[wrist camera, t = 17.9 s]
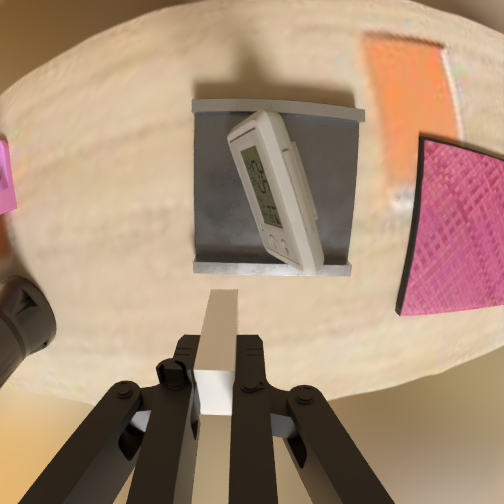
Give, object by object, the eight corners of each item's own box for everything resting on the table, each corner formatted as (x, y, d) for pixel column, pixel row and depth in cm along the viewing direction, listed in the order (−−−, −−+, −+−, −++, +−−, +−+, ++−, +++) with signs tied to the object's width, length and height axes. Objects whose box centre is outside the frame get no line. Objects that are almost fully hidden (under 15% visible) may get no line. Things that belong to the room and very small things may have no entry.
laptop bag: (401, 323, 38) (429, 135, 30) (391, 310, 42) (414, 136, 33) (533, 303, 38) (558, 182, 29) (523, 296, 42) (545, 179, 33)
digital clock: (226, 125, 32) (214, 113, 22) (301, 117, 31) (322, 103, 21) (244, 254, 37) (240, 292, 27) (313, 245, 37) (335, 281, 27)
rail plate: (197, 264, 38) (193, 273, 36) (196, 103, 31) (192, 99, 29) (343, 267, 39) (350, 276, 36) (356, 112, 32) (365, 109, 29)
